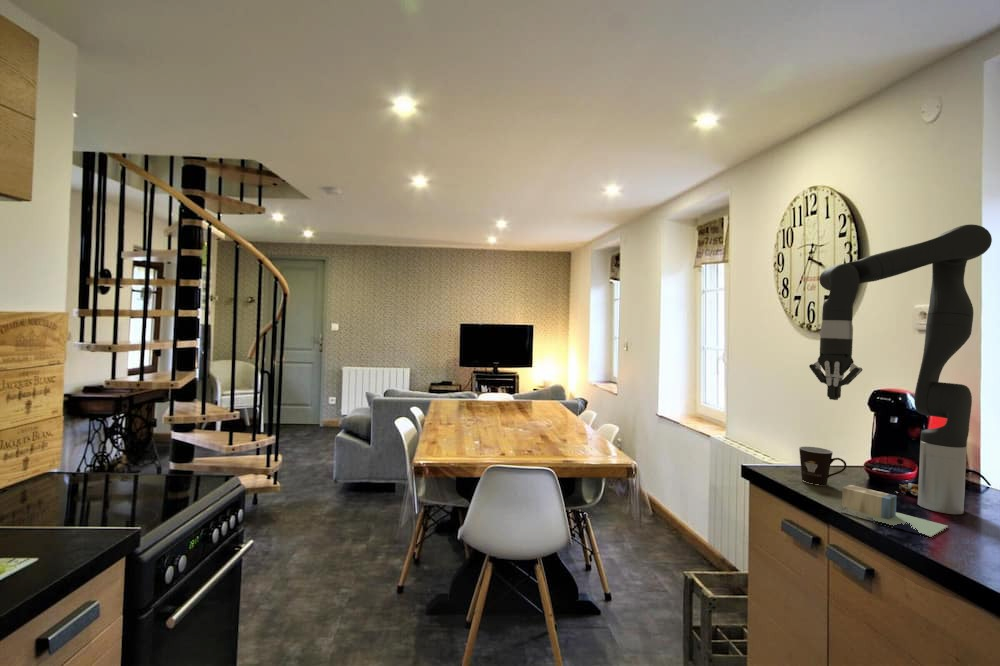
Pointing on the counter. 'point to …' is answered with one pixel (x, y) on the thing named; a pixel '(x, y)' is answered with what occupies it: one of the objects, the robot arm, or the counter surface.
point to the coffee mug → (817, 464)
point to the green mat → (912, 523)
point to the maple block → (869, 501)
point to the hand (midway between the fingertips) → (833, 399)
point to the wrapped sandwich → (909, 488)
